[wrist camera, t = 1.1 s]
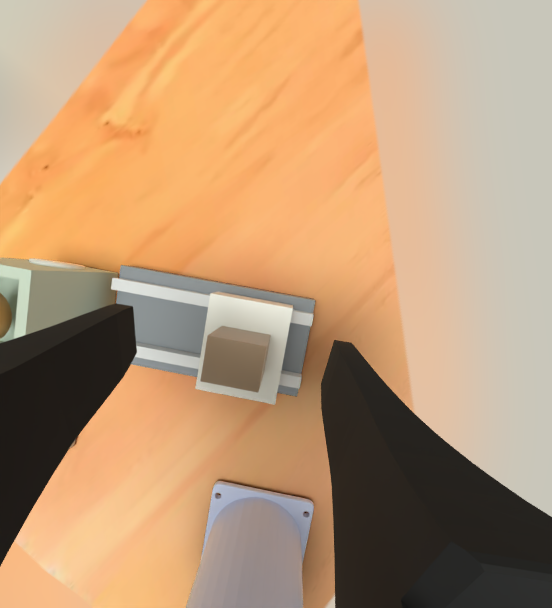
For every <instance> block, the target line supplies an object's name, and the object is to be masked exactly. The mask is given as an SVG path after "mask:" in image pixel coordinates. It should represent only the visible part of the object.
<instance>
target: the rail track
mask: <svg viewBox="0 0 552 608" xmlns="http://www.w3.org/2000/svg"><path fill="white" fill-rule="evenodd" d="M111 289H113V290H118V292H117V300H116V303H117V304H122V305H128V306H133V311H134V323H135V336H136V348H137V354H136V355H135V357H134V359H133V361H132V363H131V364H133V365H138V366H143V367H148V368H153V369H158V370H163V371H169V372H174V373H179V374H184V375H189V376H194V377H197V375H198V369H199V363H200V356H201V350H202V343H203V337H204V331H205V324H206V318H207V311H208V305H209V299H210V293H215V292H223V293H228V294H234V295H239V296H245V297H250V298H256V299H261V300H267V301H272V302H278V303H283V304H289V305H293V310H292V316H291V321H290V327H289V332H288V337H287V343H286V348H285V354H284V359H283V364H282V370H281V375H280V381H279V386H278V391H277V393H281V394H286V395H292V396H297V394H298V389H300V384H301V379H302V376H301V373H302V368H303V363H304V357H305V352H306V347H307V342H308V337H309V331H310V326H312V322H313V316H314V314H313V311H314V305H315V300H314V299H311V298H305V297H300V296H294V295H289V294H283V293H278V292H272V291H267V290H261V289H256V288H250V287H245V286H239V285H234V284H228V283H223V282H217V281H212V280H206V279H201V278H195V277H190V276H184V275H179V274H173V273H168V272H162V271H157V270H151V269H146V268H140V267H135V266H124V265H121V268H120V276H119V278H112V285H111Z"/></svg>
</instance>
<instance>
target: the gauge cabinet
mask: <svg viewBox="0 0 552 608" xmlns="http://www.w3.org/2000/svg"><path fill="white" fill-rule="evenodd" d="M112 278H118V273H117V272H111V271H106V270H100V269H95V268H89V267H85V266H83V265H79V264H74V263H68V262H61V261H54V260H45V259H29V260H28V259H14V258H0V293H1V294H2V295H3V296H4V297H5V298H6V300H7V301H8V303H9V305H10V308H11V312H12V322H11V326H10V328H9V330H8V332H7V333H6V335H5V336H4V337H2V338H1V339H0V343H2V342H6V341H9V340H12V339H15V338H18V337H21V336H24V335H27V334H30V333H33V332H36V331H39V330H42V329H45V328H48V327H51V326H53V325H56V324H59V323H61V322H64V321H67V320H70V319H72V318H75V317H78V316H80V315H83V314H86V313H88V312H91V311H94V310H97V309H99V308H102V307H105V306H108V305H112V304H115V297H116V290H113V289H111V285H112Z"/></svg>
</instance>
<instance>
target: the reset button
mask: <svg viewBox="0 0 552 608" xmlns="http://www.w3.org/2000/svg"><path fill="white" fill-rule="evenodd" d="M11 322H12V312H11V308H10V305H9V303H8V301H7V300H6V298H5V297H4V296H3V295H2V294H1V293H0V339H1V338H2V337H4V336H5V335H6V333H7V332H8V330H9V328H10V326H11Z"/></svg>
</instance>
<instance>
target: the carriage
mask: <svg viewBox="0 0 552 608" xmlns="http://www.w3.org/2000/svg"><path fill="white" fill-rule="evenodd" d="M292 310H293V305H289V304H283V303H278V302H272V301H267V300H261V299H256V298H250V297H245V296H239V295H234V294H228V293H223V292H215V293H210V299H209V305H208V311H207V318H206V324H205V331H204V337H203V343H202V350H201V356H200V363H199V369H198V375H197V382H196V388H195V389H198V390H203V391H208V392H214V393H219V394H224V395H229V396H234V397H239V398H244V399H249V400H254V401H259V402H264V403H269V404H275V402H276V397H277V391H278V386H279V381H280V375H281V370H282V364H283V359H284V354H285V348H286V343H287V337H288V332H289V327H290V321H291V316H292Z"/></svg>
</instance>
